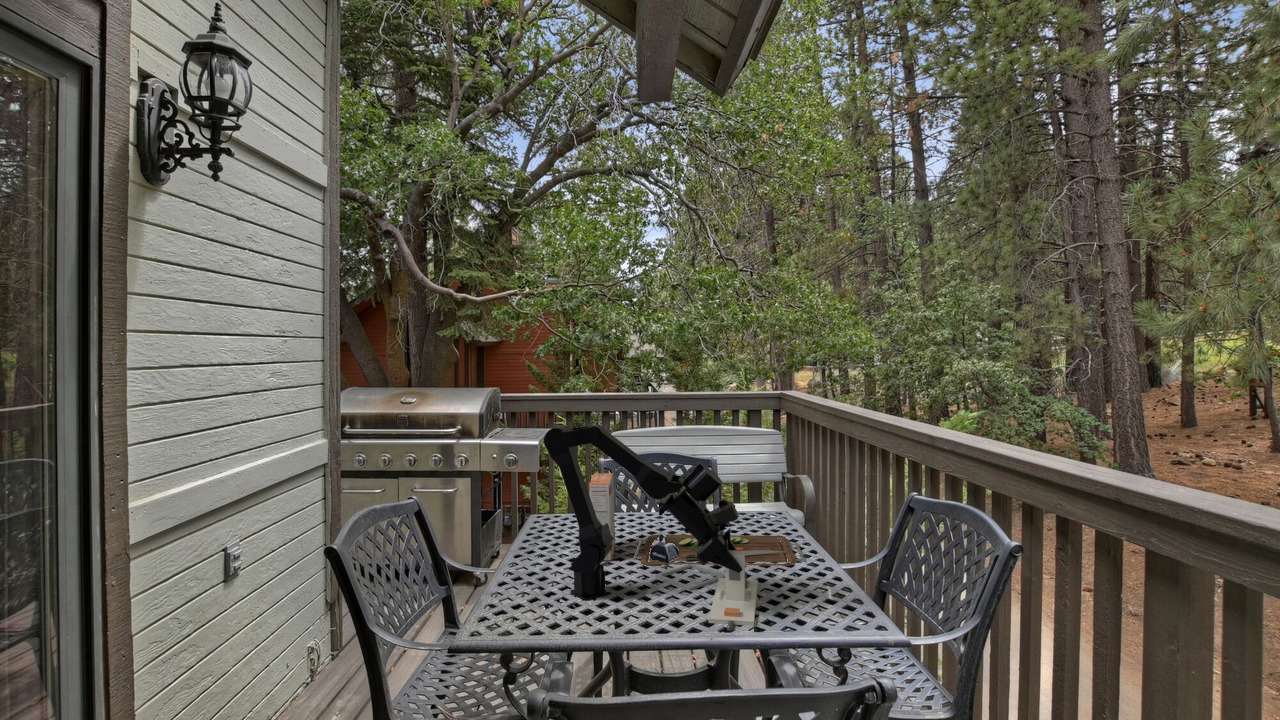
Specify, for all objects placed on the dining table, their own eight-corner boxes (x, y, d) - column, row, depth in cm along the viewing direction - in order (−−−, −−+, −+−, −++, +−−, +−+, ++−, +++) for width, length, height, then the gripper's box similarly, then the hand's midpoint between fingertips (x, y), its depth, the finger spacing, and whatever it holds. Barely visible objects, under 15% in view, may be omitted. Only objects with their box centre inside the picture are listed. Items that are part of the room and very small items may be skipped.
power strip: (753, 636, 131) (753, 623, 131) (707, 632, 133) (706, 620, 132) (757, 586, 157) (757, 576, 157) (719, 584, 159) (719, 574, 159)
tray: (689, 593, 153) (689, 587, 153) (655, 580, 163) (655, 574, 163) (726, 581, 161) (725, 575, 161) (691, 569, 170) (691, 563, 170)
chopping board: (795, 540, 195) (794, 529, 195) (809, 571, 169) (808, 559, 169) (640, 538, 200) (640, 528, 200) (630, 568, 173) (630, 556, 173)
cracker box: (594, 546, 191) (593, 472, 191) (615, 545, 191) (614, 472, 191) (589, 561, 177) (587, 483, 177) (612, 561, 177) (610, 482, 177)
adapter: (725, 602, 146) (725, 556, 146) (727, 594, 150) (726, 550, 150) (744, 603, 145) (743, 557, 145) (745, 595, 150) (744, 550, 149)
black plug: (746, 591, 152) (745, 573, 152) (728, 590, 153) (728, 572, 153) (746, 585, 156) (746, 567, 156) (729, 584, 157) (729, 567, 157)
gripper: (712, 500, 139) (767, 555, 137) (719, 482, 157) (768, 530, 155) (674, 536, 141) (728, 592, 139) (686, 514, 159) (734, 563, 157)
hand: (741, 567), depth 147 cm, fingers closed on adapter, 5 cm apart
